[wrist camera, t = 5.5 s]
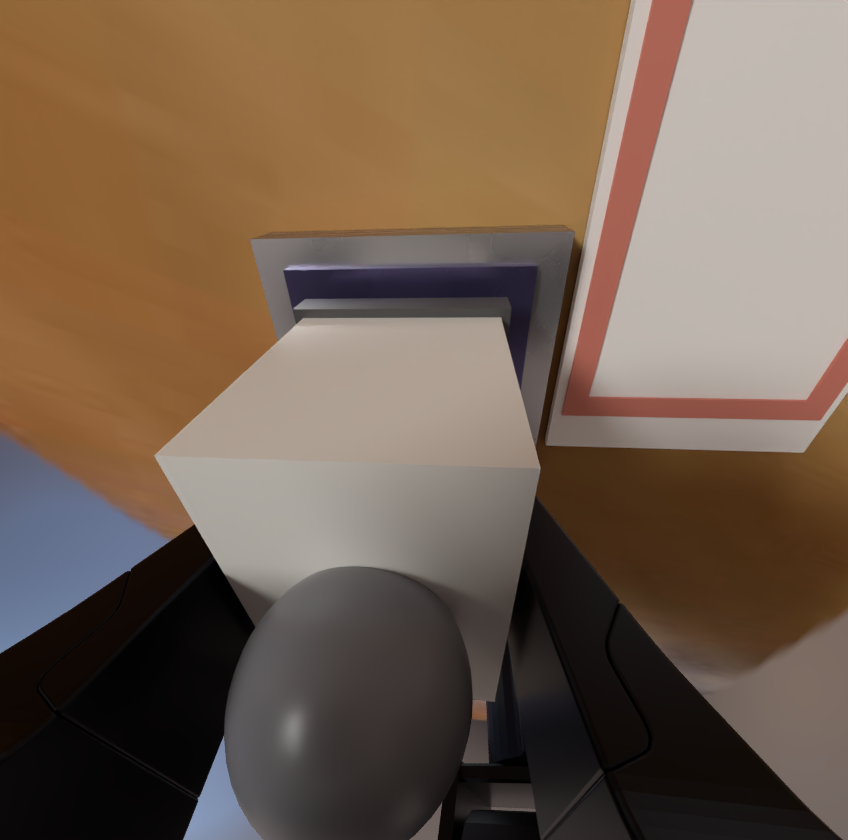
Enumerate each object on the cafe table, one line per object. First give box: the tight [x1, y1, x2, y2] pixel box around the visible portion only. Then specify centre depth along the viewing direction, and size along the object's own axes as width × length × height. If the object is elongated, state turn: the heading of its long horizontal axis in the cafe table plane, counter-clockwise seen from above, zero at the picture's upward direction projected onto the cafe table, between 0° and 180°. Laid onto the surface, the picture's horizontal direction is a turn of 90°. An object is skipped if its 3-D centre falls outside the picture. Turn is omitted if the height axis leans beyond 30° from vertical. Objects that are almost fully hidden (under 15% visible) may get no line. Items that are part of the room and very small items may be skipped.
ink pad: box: [250, 225, 575, 449], centre depth 12 cm, size 9×8×2 cm
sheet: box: [545, 0, 848, 453], centre depth 9 cm, size 14×9×1 cm, turn 2°
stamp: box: [154, 297, 541, 840], centre depth 7 cm, size 5×7×8 cm
